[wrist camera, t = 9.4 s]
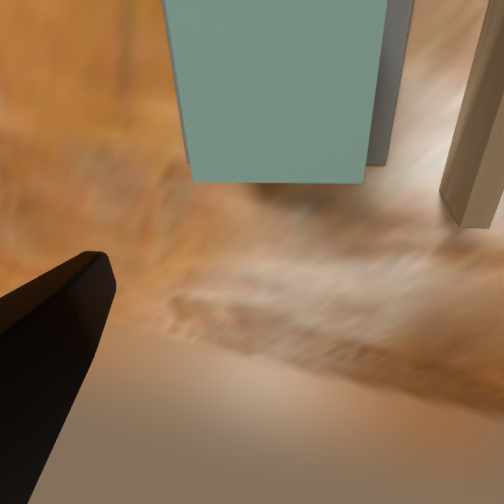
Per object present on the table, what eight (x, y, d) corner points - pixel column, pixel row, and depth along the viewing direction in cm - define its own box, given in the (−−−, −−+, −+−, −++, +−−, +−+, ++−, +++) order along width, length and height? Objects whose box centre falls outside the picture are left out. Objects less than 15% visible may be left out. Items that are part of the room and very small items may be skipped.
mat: (430, -111, 13) (432, -112, 13) (384, 162, 19) (385, 164, 19) (149, -90, 15) (147, -91, 14) (188, 161, 21) (187, 164, 20)
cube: (349, 123, 18) (363, 183, 14) (221, 125, 19) (193, 182, 14) (364, -37, 15) (391, -32, 10) (207, -27, 15) (162, -19, 11)
